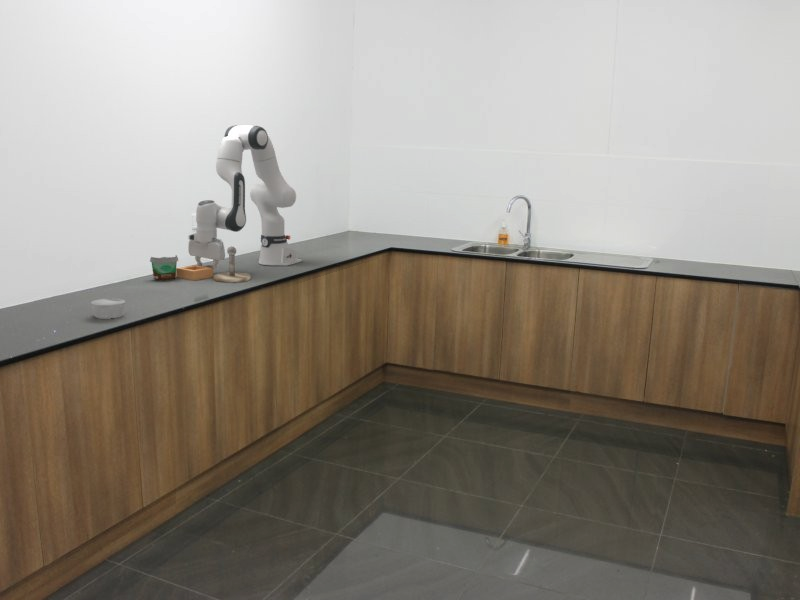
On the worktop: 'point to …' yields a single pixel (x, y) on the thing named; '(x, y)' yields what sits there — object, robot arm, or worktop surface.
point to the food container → (164, 268)
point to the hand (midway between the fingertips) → (206, 267)
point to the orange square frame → (195, 272)
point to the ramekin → (108, 308)
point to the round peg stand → (232, 270)
